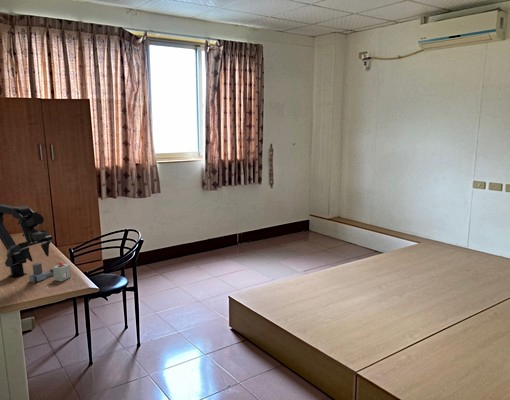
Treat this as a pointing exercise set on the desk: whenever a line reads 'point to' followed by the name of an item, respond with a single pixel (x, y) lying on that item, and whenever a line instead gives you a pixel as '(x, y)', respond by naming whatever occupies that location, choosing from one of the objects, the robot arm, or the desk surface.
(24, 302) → the desk surface
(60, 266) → the button
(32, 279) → the rail
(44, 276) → the carriage
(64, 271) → the cabinet
